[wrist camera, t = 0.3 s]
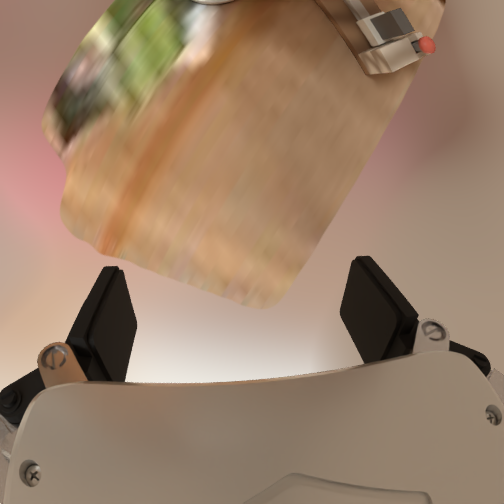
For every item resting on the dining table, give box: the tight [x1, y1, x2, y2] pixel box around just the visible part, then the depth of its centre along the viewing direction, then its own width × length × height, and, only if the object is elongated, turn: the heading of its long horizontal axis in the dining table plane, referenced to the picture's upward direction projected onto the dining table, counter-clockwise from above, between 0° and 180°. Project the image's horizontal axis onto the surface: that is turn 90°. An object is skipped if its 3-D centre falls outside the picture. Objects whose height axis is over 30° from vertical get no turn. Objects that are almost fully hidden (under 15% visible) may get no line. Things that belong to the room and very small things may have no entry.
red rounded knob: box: [411, 36, 436, 54], centre depth 28 cm, size 3×3×4 cm
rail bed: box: [315, 0, 431, 75], centre depth 29 cm, size 22×10×8 cm, turn 35°
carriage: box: [356, 8, 414, 46], centre depth 29 cm, size 5×5×9 cm
